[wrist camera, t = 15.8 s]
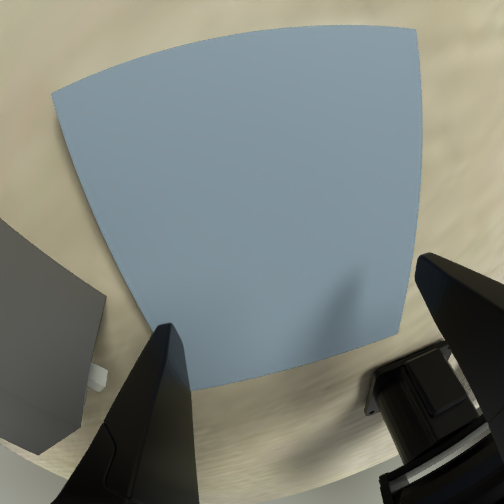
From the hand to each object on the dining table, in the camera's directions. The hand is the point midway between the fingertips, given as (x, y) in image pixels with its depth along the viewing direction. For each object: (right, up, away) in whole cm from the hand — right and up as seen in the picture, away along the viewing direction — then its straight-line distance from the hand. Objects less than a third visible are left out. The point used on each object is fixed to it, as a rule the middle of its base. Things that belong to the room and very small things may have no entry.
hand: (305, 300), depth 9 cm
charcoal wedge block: (-12, +1, +1) cm, 13 cm away
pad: (-1, +2, +3) cm, 4 cm away
